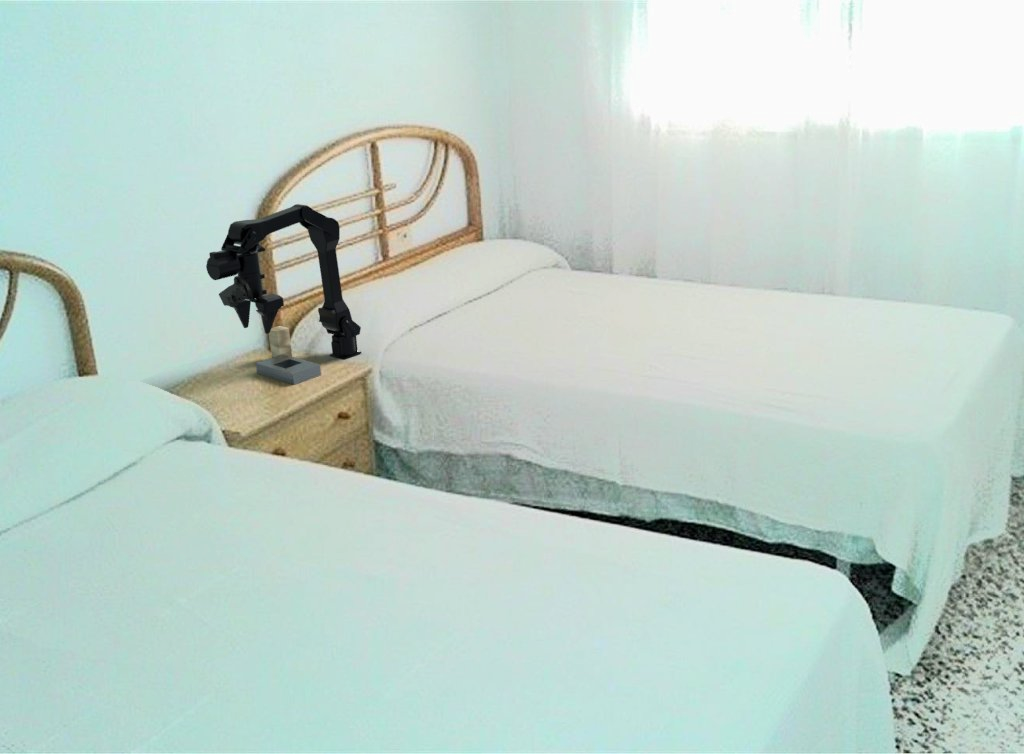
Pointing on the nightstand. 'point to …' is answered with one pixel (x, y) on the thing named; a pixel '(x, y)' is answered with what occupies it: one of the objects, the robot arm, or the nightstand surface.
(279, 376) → the grey slotted block
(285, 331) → the ash peg
